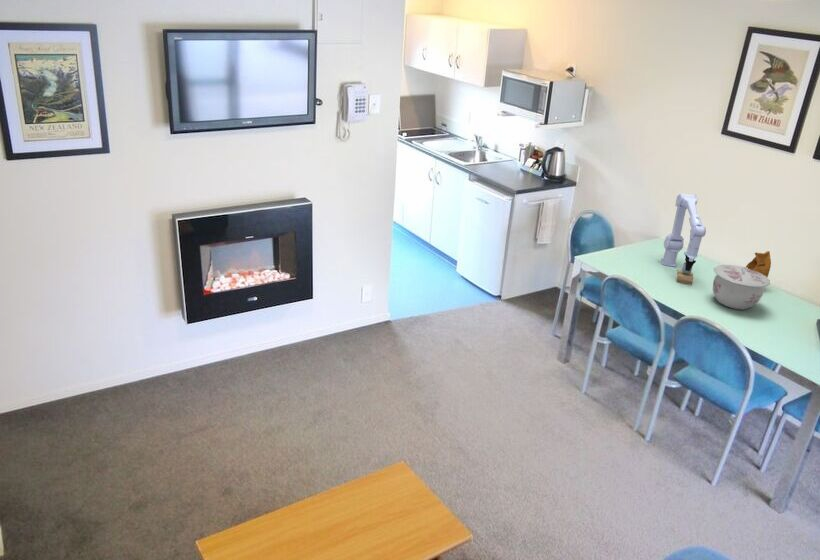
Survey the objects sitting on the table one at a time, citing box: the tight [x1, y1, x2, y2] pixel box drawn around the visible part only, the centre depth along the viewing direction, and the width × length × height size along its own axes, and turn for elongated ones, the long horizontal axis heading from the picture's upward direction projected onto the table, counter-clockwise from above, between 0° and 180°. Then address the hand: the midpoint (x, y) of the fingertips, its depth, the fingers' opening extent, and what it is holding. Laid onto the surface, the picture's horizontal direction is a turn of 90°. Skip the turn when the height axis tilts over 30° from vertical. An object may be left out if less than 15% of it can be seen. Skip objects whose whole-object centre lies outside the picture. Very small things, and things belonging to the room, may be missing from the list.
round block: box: [681, 261, 694, 273], centre depth 375 cm, size 5×5×4 cm
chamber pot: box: [712, 264, 771, 310], centre depth 351 cm, size 28×28×21 cm
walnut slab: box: [676, 278, 694, 286], centre depth 378 cm, size 8×8×2 cm
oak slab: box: [676, 269, 694, 282], centre depth 377 cm, size 8×8×2 cm
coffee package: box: [745, 250, 772, 278], centre depth 373 cm, size 10×12×22 cm
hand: (687, 269), depth 375 cm, fingers closed on round block, 5 cm apart
